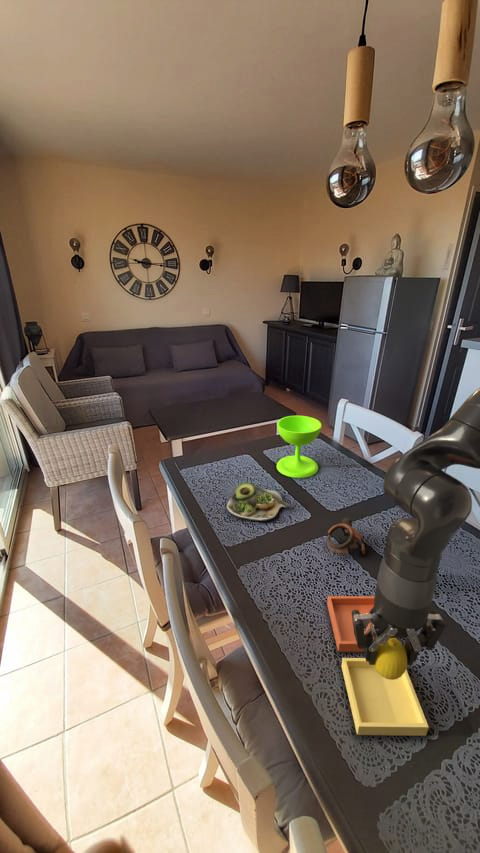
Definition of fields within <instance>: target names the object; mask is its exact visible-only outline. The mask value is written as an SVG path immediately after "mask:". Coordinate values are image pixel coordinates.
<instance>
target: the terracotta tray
mask: <svg viewBox="0 0 480 853" xmlns="http://www.w3.org/2000/svg"><path fill="white" fill-rule="evenodd" d="M374 598H375V595H374V596H373V595H367V596H366V595H359V596H358V595H351V596H350V595H349V596H348V595H342V596H341V595H339V596H338V595H334V596H333V595H328V596H327V603H326V605H327V611H328V613H329V614H328V615H329V618H330V622H331V627H332V631H333V637H334V640H335V645H336V649H337V653H364V652H363V649H359V648H358V645H357V642H356V638H355V635H354V629H353V621H352V611H353V610H358V611H359V613H360V614H366V613H369V612H370V610H371V609H372V608H373V606H374ZM370 624H371V622H370V623H369V624H368V626H367V627H366V628H367V630H366V631H364V634H365V633H366V632H367V631H368V630H369V629H370ZM373 639H374V637H373Z"/></svg>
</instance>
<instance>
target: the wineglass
mask: <svg viewBox="0 0 480 853" xmlns="http://www.w3.org/2000/svg"><path fill="white" fill-rule="evenodd" d="M276 427H277V431H278V434H279V436H280V437H281V438H282V439H283V441H284V442H286V443H288V444H290V445H292V446H295V448H294V449H295V451H294V454H292V455H287V456H284V457H282V458H280V459H279V460H278V461H277V463H276V469H277V470H276V471H278V472H279V473H280V474H281V475H284V476H286V477H289V478H295V479H305V478H309V477H312V476H314V475H316V474H317V473H318V471H319V465H318V463H317V462H316V461H315V460H314V459H313V458H311V457H307V456H304V455H301V449H302V448H301V447H302V446H306V445H309V444H311V443H313V442H314V441H315V440H316V439H317V438H318V436H319V435H320V433H321V430H322V423H321V421H320V420H318V419H316V418H315V417H311V416H306V415H287V416H283V417H282V418H280V419H278V421H277V422H276Z"/></svg>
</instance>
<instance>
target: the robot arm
mask: <svg viewBox="0 0 480 853" xmlns="http://www.w3.org/2000/svg"><path fill="white" fill-rule="evenodd" d="M455 465H456V466H457V465H460V466H464V467H468V468H471V469H477V470H480V387H479V388H477V389H476V390H475V391H474V392H472V393H471V395H469V396H468V397H467V398H466V399H465V401H464V402H463V403H462V405H460V407H459V408H458V409H457V410H456V411H455V412H454V414H452V415H451V417H450V418H449V419H448V420H447V421H446V423H445V424H444V425H443V426H442V427H441V428H440V429H438V430H437V431H435V432H434V433H432V434H431V435H429V436H427V437H426V438H424V440H422V441H421V442H419V443H418V444H416V445H415V446H413V447H412V448H410V449H409V450H407V451H406V452H404V453H403V454H402V455H400V456H398V457H397V458H396V460H394V461H393V462H392V463H391V465H389V467H388V469H387V471H386V473H385V475H384V478H383V483H382V487H383V493H384V494H385V496H386V497H387V498H388V500H390V501H391V502H392V503H393V504H395V505H396V506H397V507H399V509H401V510H403V511H404V513H407V514H408V515H409V516H410V517H402V518H398V519H396V520H395V521H393V522H392V523H391V525H390V526H389V529H388V531H387V535H386V541H385V545H384V552H383V556H382V559H381V562H380V564H379V568H378V570H379V571H378V573H377V576H376V577H377V578H376V579H377V581H376V587H375V591H374V592H375V593H374V596H375V598H374V606H373V608H372V609H371V610H370V612H369V613H366V614H360V613H359V611H358V610H353V611H352V621H353V629H354V635H355V638H356V642H357V645H358V648H359V649H363V652H362V653H363V656H364V658H365V659H366V661H368V662H369V665H374V664H375V659H376V654H377V649H378V647H379V646H380V645H385V644H386V642H387V641H388V640H389V639H390V638H398V639H399V638H400V639H405V642H404V645H403V646H404V648H405V650H406V653H407V666H414V663H415V662H416V661H418V656H419V652H421V651H422V650H423V649H424V648H426V649H427V650H432V649H433V650H434V648H435V646H436V644H437V643H438V641H439V639H440V638H441V636H442V634H443V632H444V631H445V629H446V627H447V626H446V623H445V621H444V619H443V618H442V616H441V614H440V612H439V610H437V609H433V610H431V606H432V602H433V599H434V595H435V591H436V587H437V580H438V579H437V578H438V570H439V567H440V563H441V559H442V556H443V553H444V551H445V549H446V547H447V546H448V545H449V544H450V541H451V540H452V539H453V537H454V536H455V534H456V533H457V531H459V529H460V528H461V527H462V526H463V524H464V523H465V522H467V519H468V518H469V516H470V515H471V512H472V509H473V497H472V494H471V491H470V490H469V488H468V486H467V485H466V484H465V483H464V482H462V481H461V480H459V479H457V478H456V477H454V476H452V475H451V474H449V473H448V472H445V471H444V470H445V469H447V468H449V467H451V466H455ZM430 610H431V611H430ZM370 622H371V624H370V629H369V630H368V631H367V632H366V633H365V634H364V631H366V630H367V628H366V627H367V626H368V624H369V623H370ZM418 631H419V633H418V634H417V632H418ZM373 637H374V639H373Z"/></svg>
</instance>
